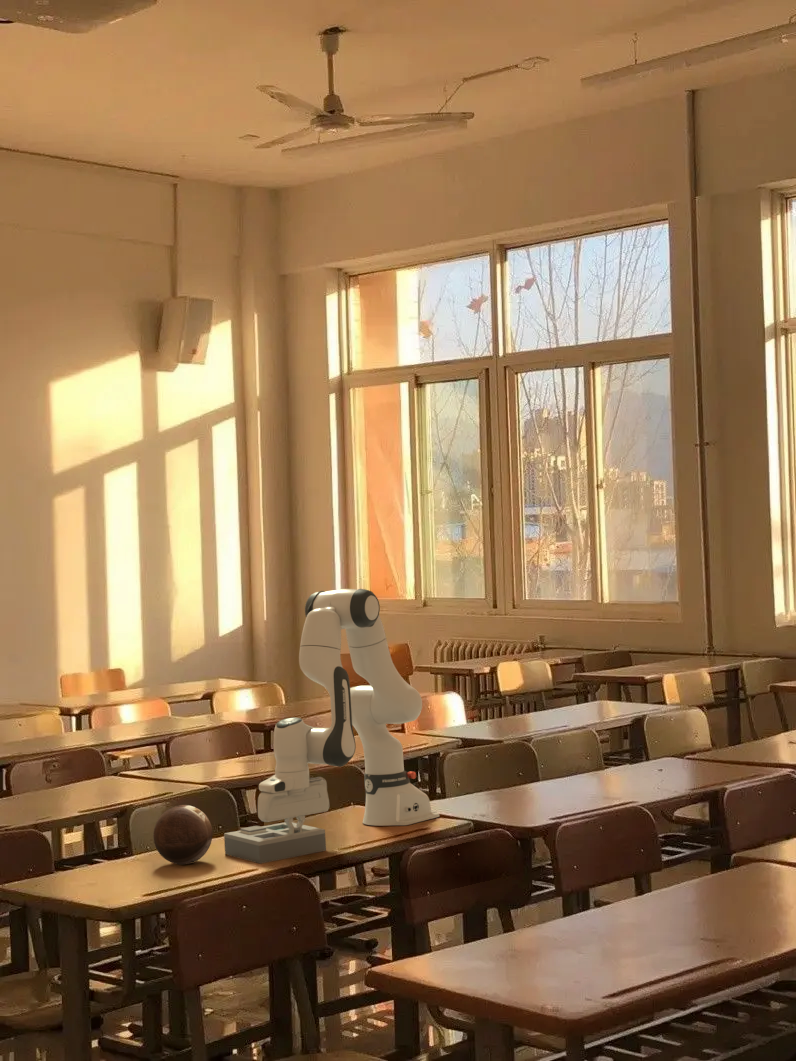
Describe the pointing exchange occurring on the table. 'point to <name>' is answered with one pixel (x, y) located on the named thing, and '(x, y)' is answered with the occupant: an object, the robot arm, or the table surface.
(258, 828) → the key
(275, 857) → the keypad
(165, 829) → the wooden sphere
